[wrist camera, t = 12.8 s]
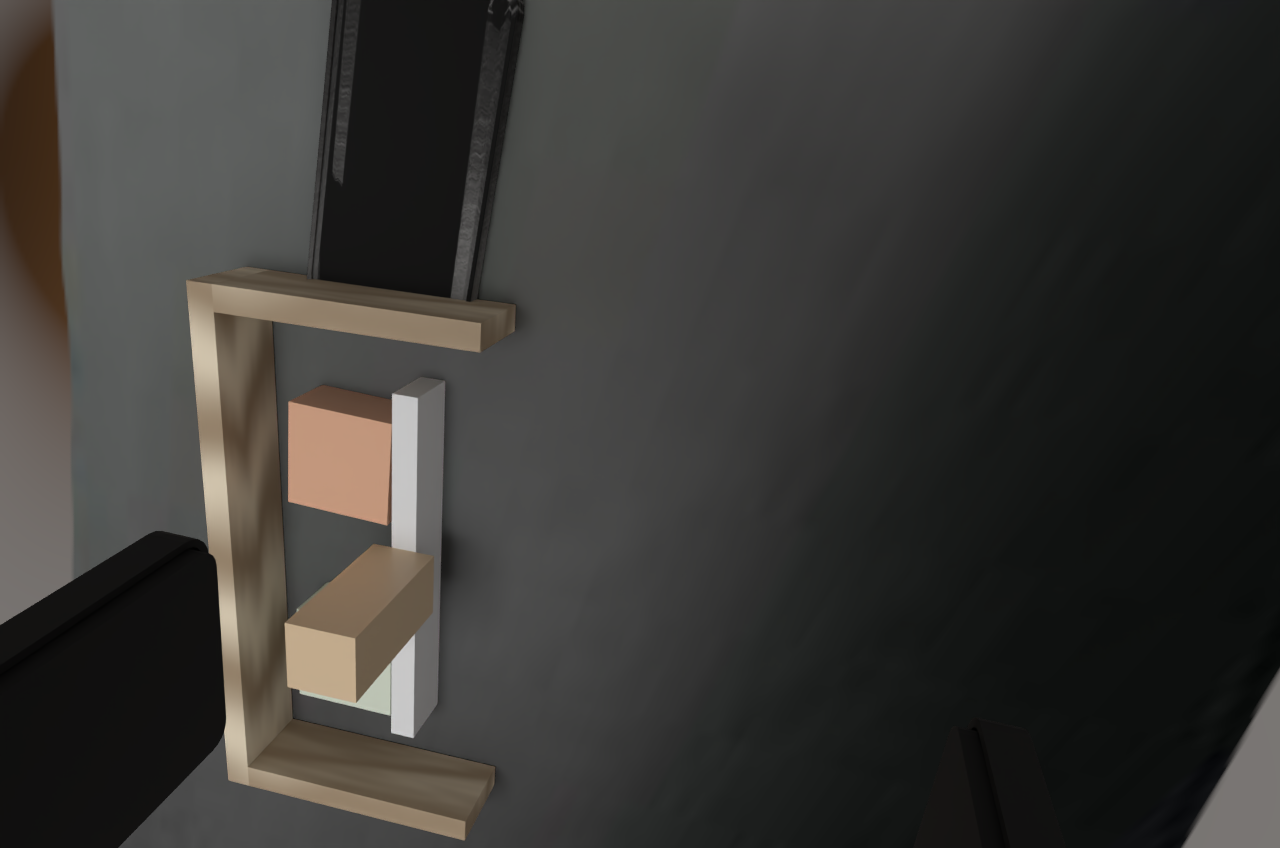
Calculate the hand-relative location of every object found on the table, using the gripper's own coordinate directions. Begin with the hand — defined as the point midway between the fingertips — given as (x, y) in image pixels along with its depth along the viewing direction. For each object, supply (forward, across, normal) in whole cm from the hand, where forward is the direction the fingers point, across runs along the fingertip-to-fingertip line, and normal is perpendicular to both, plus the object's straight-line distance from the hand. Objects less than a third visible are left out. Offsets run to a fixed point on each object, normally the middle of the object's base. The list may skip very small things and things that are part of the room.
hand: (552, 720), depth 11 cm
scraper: (+27, +14, +15) cm, 34 cm away
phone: (+28, +15, -4) cm, 32 cm away
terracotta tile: (+28, +17, +10) cm, 34 cm away
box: (+27, +16, +16) cm, 35 cm away
